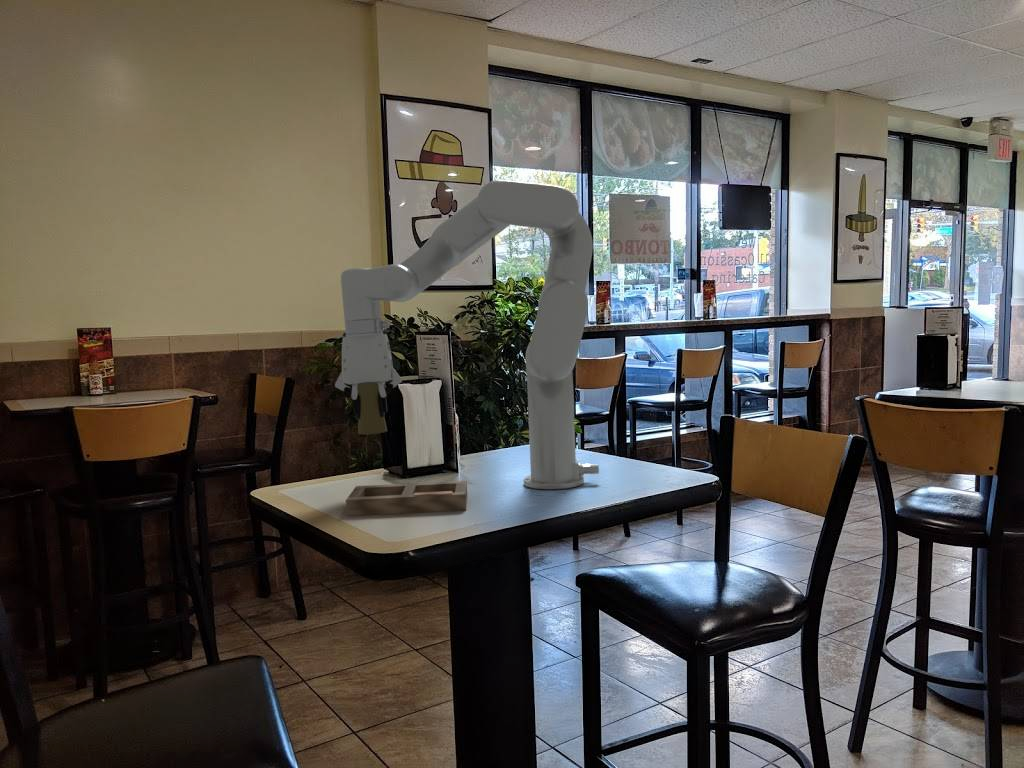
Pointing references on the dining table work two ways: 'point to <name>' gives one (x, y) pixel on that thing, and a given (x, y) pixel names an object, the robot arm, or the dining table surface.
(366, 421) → the olive tall rounded piece
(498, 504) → the dining table surface
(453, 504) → the caddy
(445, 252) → the robot arm
